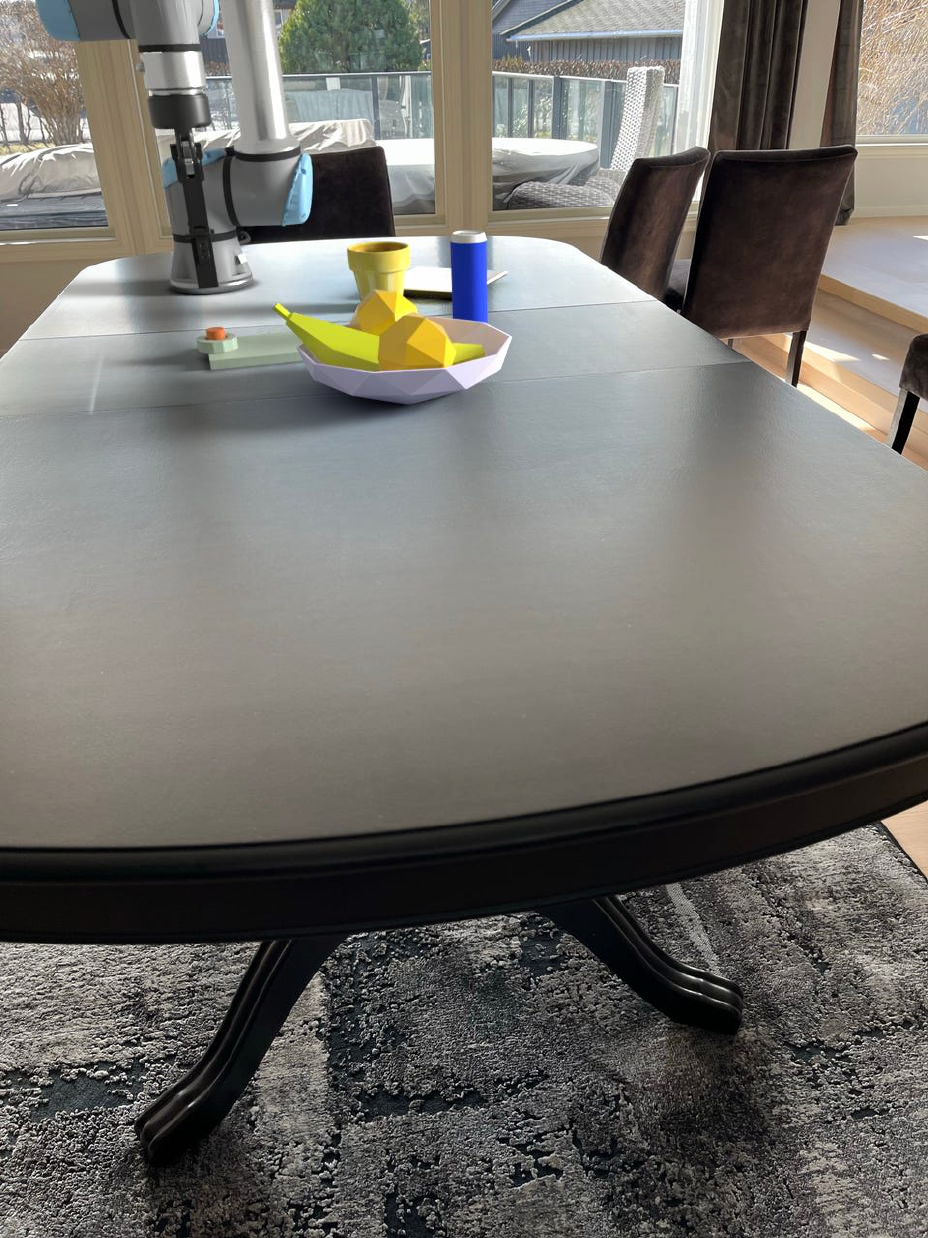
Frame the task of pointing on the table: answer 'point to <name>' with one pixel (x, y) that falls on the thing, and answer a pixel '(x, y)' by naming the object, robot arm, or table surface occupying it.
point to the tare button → (215, 333)
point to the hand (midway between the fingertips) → (208, 286)
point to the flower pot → (379, 266)
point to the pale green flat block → (250, 349)
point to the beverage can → (469, 275)
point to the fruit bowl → (397, 350)
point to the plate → (437, 281)
